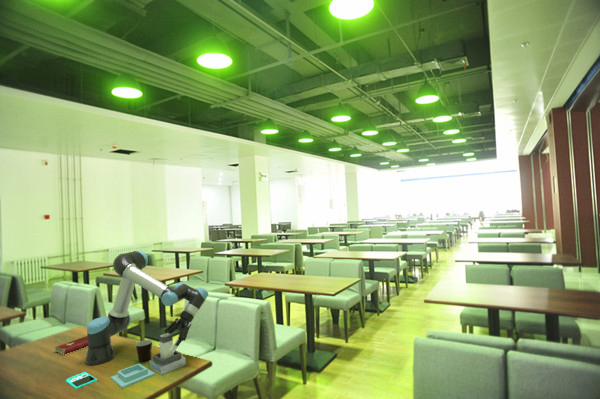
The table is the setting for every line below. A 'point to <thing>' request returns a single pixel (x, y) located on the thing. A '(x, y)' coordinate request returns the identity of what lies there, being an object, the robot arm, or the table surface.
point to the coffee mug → (144, 350)
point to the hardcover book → (72, 345)
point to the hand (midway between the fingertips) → (165, 348)
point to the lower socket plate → (132, 375)
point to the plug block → (166, 345)
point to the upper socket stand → (167, 363)
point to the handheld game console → (80, 380)
